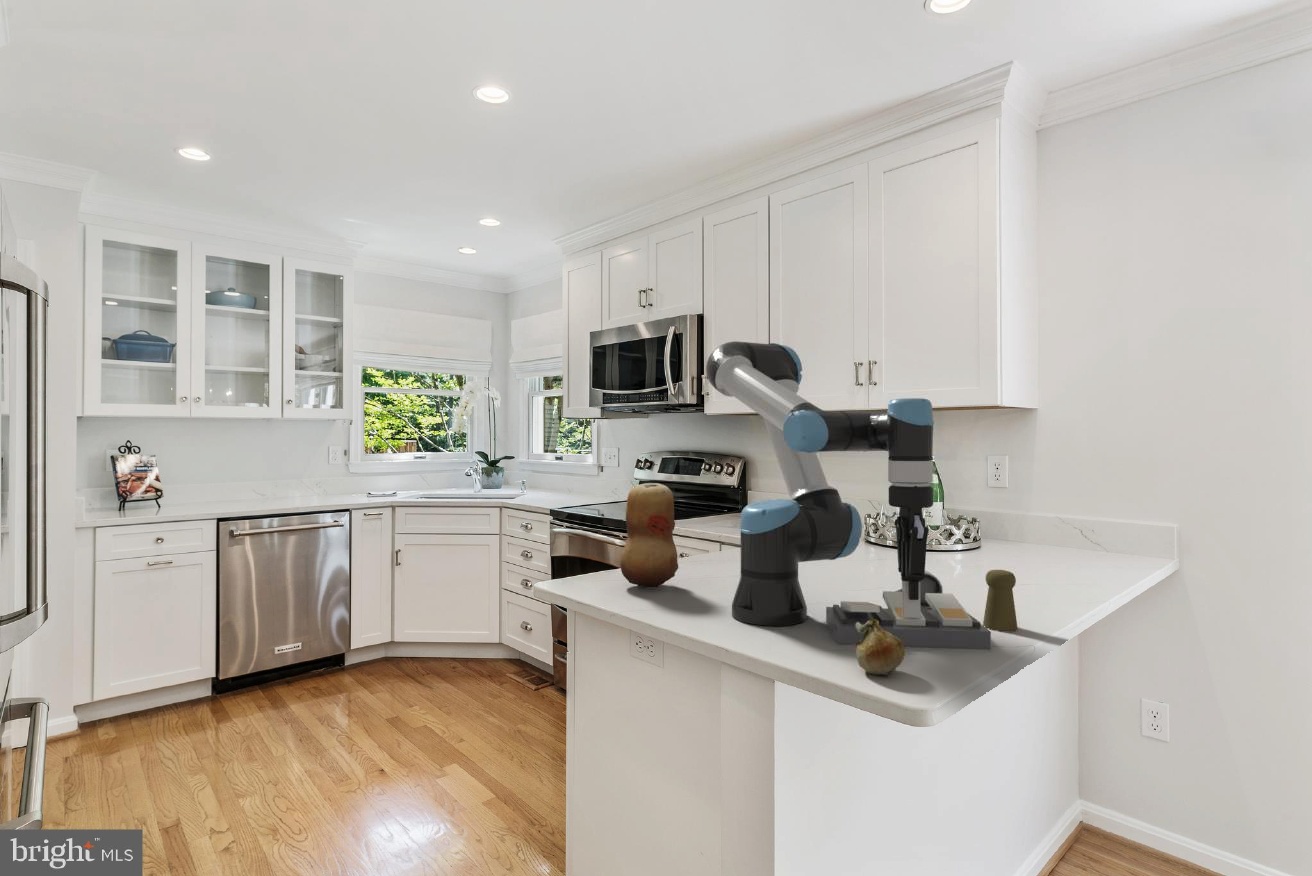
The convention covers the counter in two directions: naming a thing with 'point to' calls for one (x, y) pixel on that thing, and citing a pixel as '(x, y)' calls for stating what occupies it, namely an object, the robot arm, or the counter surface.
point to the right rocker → (948, 609)
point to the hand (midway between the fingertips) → (911, 616)
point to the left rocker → (859, 606)
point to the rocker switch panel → (908, 629)
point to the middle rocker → (900, 609)
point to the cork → (1000, 601)
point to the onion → (878, 649)
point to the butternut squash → (649, 536)
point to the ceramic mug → (928, 588)
